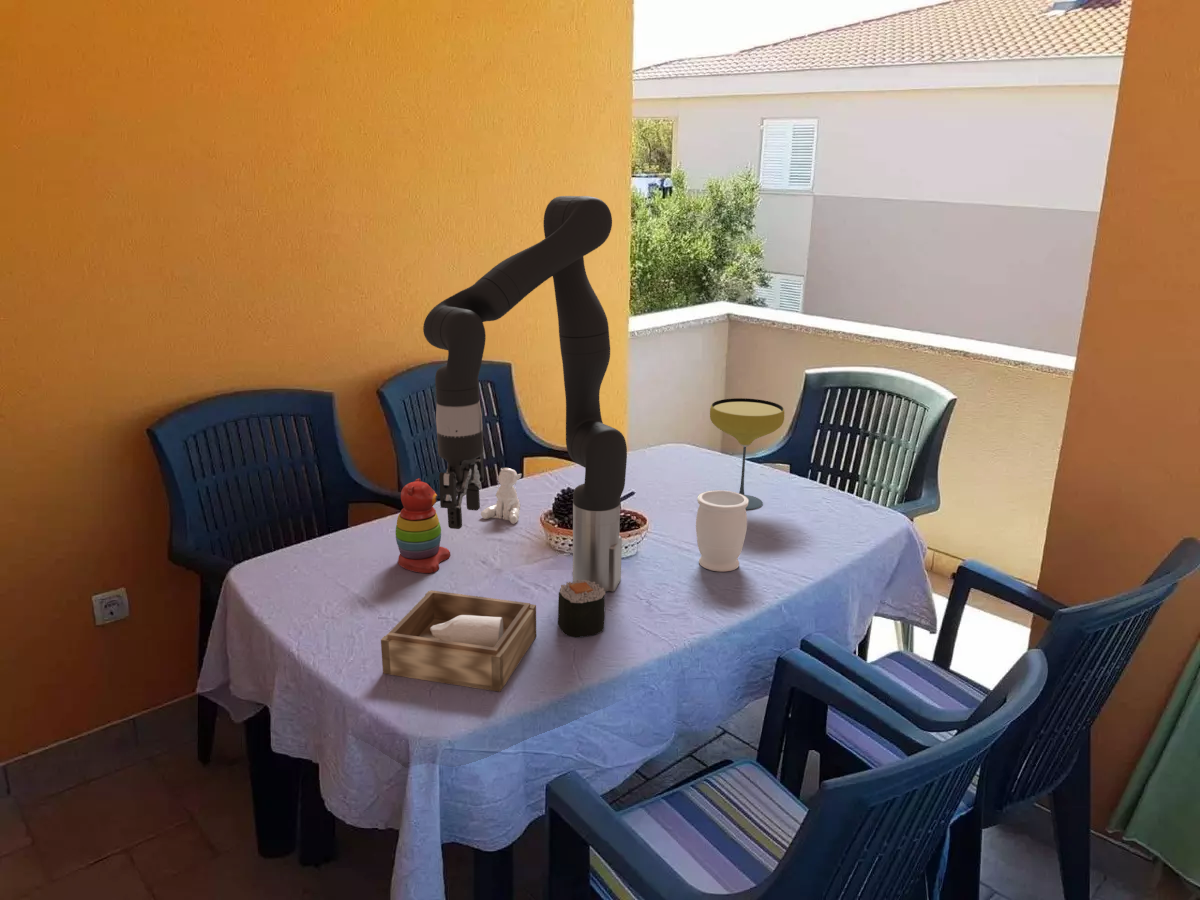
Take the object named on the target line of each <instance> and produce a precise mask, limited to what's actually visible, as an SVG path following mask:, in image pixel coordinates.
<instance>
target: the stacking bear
mask: <svg viewBox="0 0 1200 900" xmlns="http://www.w3.org/2000/svg"><path fill="white" fill-rule="evenodd" d="M400 500H401V504H402V506H403V508H402V509H401V511H400V512H399V514H398V515H397V518H396V526H395V540H396V544H397V547H398V551H399V555H398V559H397V563H398V565H399V566H400V567H402V568H403V569H406V570H408V571H411V572H416V573H421V574H422V573H423V574H432V573H435V572H437V571H438V570H439V569H440V566H439V564H440V563H441V562H442V561H446V560H448V559H449V558H450V557H451V551H450V550H449V549H448V548H447V547H445V546H440V545H441V539H442V527H441V523H440V519H439V517H438V513H437V510H436V508H434V506H435V504H436V503H437V500H438V494H437V493H436V491H435V490H434V489H433V488H432V487H431V486H430V485H429V484H428V483H427V482H424V481H422V480H421V478H416V479H415V480H414V481H412V482H408V483H407V484H405V485H404V486H403V487H402V489H401V491H400Z"/></svg>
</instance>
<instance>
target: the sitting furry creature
mask: <svg viewBox="0 0 1200 900" xmlns="http://www.w3.org/2000/svg"><path fill="white" fill-rule="evenodd" d="M497 478H498V483H499V485H500V486H498V488H497V491H496V494H495V497H496V498H497V500H496V502H495V504H494V505H491V506H488V507H486V508H484V509H483V510H482V511H481V512H480V515H481V518H483V519H484V520H488V519H499V520H501V519H503V520H504V521H509V522H510V523H511V525H512V524H513V525H515V524H517V522H519V519H520V511H521V503H520V500H519V497H518V495H517V494H518V493H517V489H516V488H515V485H516V484H517V482H518V480H520V479H521V478H522V473H517V471H516V470H515V469H512V468H509V467H501V468H500V471H499V475H498V476H497Z"/></svg>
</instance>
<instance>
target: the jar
mask: <svg viewBox="0 0 1200 900" xmlns="http://www.w3.org/2000/svg"><path fill="white" fill-rule="evenodd" d="M744 495H745V494H744ZM744 495H742V494H739V492H735V491H731V490H721V489H720V490H717V489H716V490H715V489H714V490H708V491H704V492H700V494H698V496H697V500H696V501H697V504H698V505H699V506H698V507H697V508H698V509H697V512H696V516H695V517H696V518H695V520H696V521H695V533H696V539H697V540H696V541H697V548H698V551H699V554H700V555H701V556H700V557H699V558H698V562H699V565H700V566H701V567H702V568H704V569H707V570H709V571H714V572H721V573H723V572H731V571H734V570H736V569H738V568H739V566H740V561H739V559H738V558H739V557H740V556H741V553H742V550H743V548H744V543H745V540H746V535H747V529H748V515H747V510H746V509H745V508H746V507H747V506H748V501H749V500H748V498H747V497H746V496H744Z"/></svg>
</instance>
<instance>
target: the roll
mask: <svg viewBox="0 0 1200 900" xmlns="http://www.w3.org/2000/svg"><path fill="white" fill-rule="evenodd" d="M430 631H431V632H432V635H433V636H435V637H437V638H439V639H440V640H445V641H452V642H459V643H466V644H473V645H480V646H487V647H493V648H494V646H495V645H496V643H497V642H498V641H499V639H500V638H501V637H502V635H503V619H502V617H489V616H473V615H459V616H457V617H455V618H453V619H451V620H449V621H447V622H445V623H442V624H437V625H433V626H432V627H431V628H430Z"/></svg>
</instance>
